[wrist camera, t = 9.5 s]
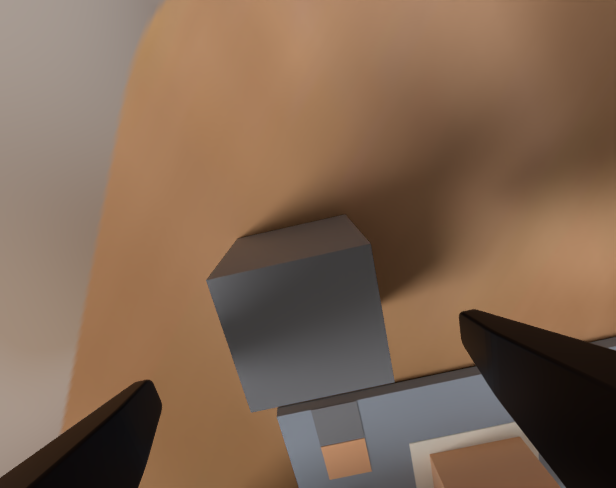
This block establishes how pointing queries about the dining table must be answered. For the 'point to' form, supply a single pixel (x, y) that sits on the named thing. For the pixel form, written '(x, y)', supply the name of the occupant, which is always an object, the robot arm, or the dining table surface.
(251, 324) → the charcoal cube
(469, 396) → the board
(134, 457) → the robot arm
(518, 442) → the terracotta cube
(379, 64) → the dining table surface
